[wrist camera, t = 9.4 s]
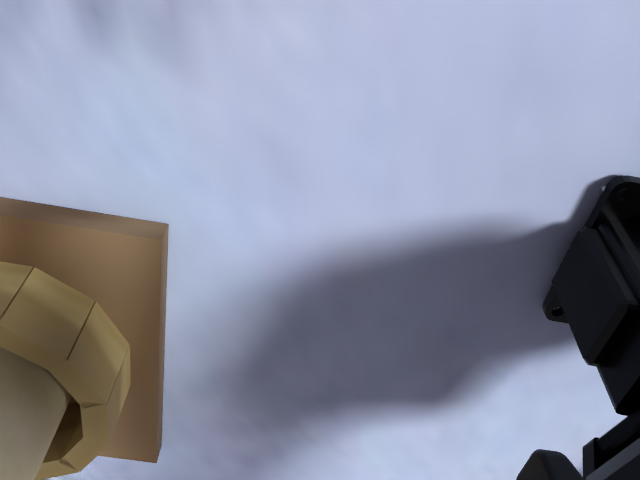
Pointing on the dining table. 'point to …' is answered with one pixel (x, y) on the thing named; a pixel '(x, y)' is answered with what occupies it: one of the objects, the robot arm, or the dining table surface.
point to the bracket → (88, 324)
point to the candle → (27, 415)
